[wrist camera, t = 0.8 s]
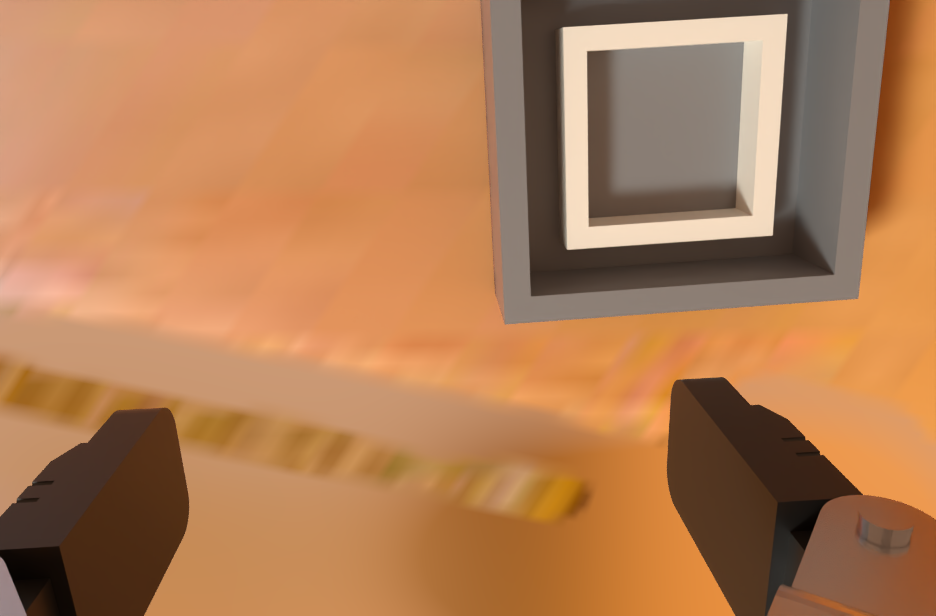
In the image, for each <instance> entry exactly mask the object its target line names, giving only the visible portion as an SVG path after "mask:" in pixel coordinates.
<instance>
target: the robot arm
mask: <svg viewBox="0 0 936 616" xmlns="http://www.w3.org/2000/svg"><path fill="white" fill-rule="evenodd" d="M667 478H668V485H669V491H670V495H671V498H672V501H673V504H674V506H675V507H676V509H677V511H678V513H679V515H680V517H681V518H682V520H683V522H684V524H685V526H686V527H687V529H688V531H689V533H690V535H691V536H692V538H693V540H694V542H695V544H696V545H697V547H698V549H699V551H700V553H701V554H702V556H703V558H704V560H705V562H706V563H707V565H708V567H709V569H710V571H711V572H712V574H713V576H714V578H715V580H716V581H717V583H718V585H719V587H720V588H721V590H722V592H723V594H724V596H725V597H726V599H727V601H728V603H729V605H730V606H731V608H732V610H733V612H734V614H735V616H936V520H935V519H934V518H932V517H931V516H929V515H928V514H926V513H924V512H923V511H921V510H918V509H916V508H914V507H912V506H909V505H907V504H904V503H901V502H898V501H895V500H891V499H887V498H882V497H876V496H868V495H863V494H862V493H861V492H860V491H859V490H858V489H857V488H855V486H854V485H853V484H852V483H851V482H850V481H849V480H848V479H847V478H845V476H844V475H843V474H842V473H841V472H840V471H839V470H838V469H837V468H836V467H835V466H834V465H833V464H832V463H831V462H830V461H829V460H828V459H827V458H826V457H825V456H824V455H820V451H819V450H818V449H817V448H816V447H815V446H814V445H813V444H812V443H811V442H810V441H809V440H805V436H804V435H803V434H802V433H801V432H800V431H799V430H798V429H797V428H796V427H795V426H794V425H793V424H792V423H791V422H790V421H789V420H788V419H786V418H784V417H782V416H780V415H778V414H776V413H774V412H772V411H771V410H769V409H767V408H765V407H763V406H761V405H750V404H749V403H748V402H747V401H746V400H745V399H744V398H743V397H742V396H741V395H740V394H739V392H738V391H737V390H736V389H735V388H734V387H733V386H732V385H731V384H730V383H729V382H728V381H727V380H726V379H725V378H723V377H719V378H701V379H684V380H676V381H675V383H674V385H673V388H672V393H671V405H670V423H669V440H668V458H667ZM188 515H189V497H188V491H187V485H186V480H185V474H184V468H183V463H182V458H181V452H180V446H179V441H178V435H177V430H176V424H175V420H174V417H173V415H172V413H171V411H170V410H169V409H168V408H153V409H135V410H118V411H116V412H114V413H113V414H112V415H111V417H110V418H109V419H108V420H107V421H106V422H105V424H104V425H103V426H102V427H101V428H100V429H99V430H98V432H97V433H96V434H95V435H94V436H93V437H92V438H91V440H90V441H89V442H88V443H81V444H79V445H78V446H76V447H74V448H72V449H71V450H69V451H67V452H66V453H64V454H63V455H61V456H59V457H58V458H56V459H55V460H53V461H51V462H50V463H49V464H48V465H47V466H46V468H45V469H44V470H43V471H42V472H41V473H40V474H39V475H38V476H37V478H35V480H34V481H33V482H32V486H28V487H27V488H26V489H25V490H24V492H23V493H22V494H21V495H20V496H19V497H18V498H17V503H13V504H12V505H11V506H10V507H9V508H8V509H7V510H6V511H5V512H4V513H3V514H2V515H1V517H0V616H144V614H145V612H146V610H147V608H148V606H149V604H150V602H151V600H152V598H153V596H154V594H155V592H156V590H157V588H158V586H159V584H160V582H161V580H162V578H163V576H164V574H165V572H166V570H167V569H168V567H169V565H170V563H171V560H172V558H173V557H174V554H175V552H176V551H177V549H178V547H179V544H180V543H181V541H182V539H183V536H184V534H185V531H186V527H187V522H188Z"/></svg>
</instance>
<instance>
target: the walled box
mask: <svg viewBox="0 0 936 616" xmlns="http://www.w3.org/2000/svg"><path fill="white" fill-rule="evenodd" d="M889 4H890V0H481V19H482V39H483V60H484V80H485V100H486V120H487V140H488V160H489V180H490V200H491V221H492V241H493V261H494V281H495V294H496V297H497V300H498V304H499V307H500V310H501V314H502V317H503V320H504V323H505V324H517V323H530V322H544V321H558V320H572V319H586V318H599V317H613V316H627V315H641V314H654V313H668V312H682V311H696V310H710V309H723V308H737V307H751V306H765V305H778V304H792V303H806V302H820V301H833V300H847V299H858V296H859V287H860V277H861V268H862V258H863V249H864V240H865V230H866V221H867V211H868V202H869V192H870V183H871V174H872V164H873V155H874V145H875V136H876V126H877V117H878V108H879V98H880V89H881V79H882V70H883V60H884V51H885V42H886V32H887V23H888V13H889Z"/></svg>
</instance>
